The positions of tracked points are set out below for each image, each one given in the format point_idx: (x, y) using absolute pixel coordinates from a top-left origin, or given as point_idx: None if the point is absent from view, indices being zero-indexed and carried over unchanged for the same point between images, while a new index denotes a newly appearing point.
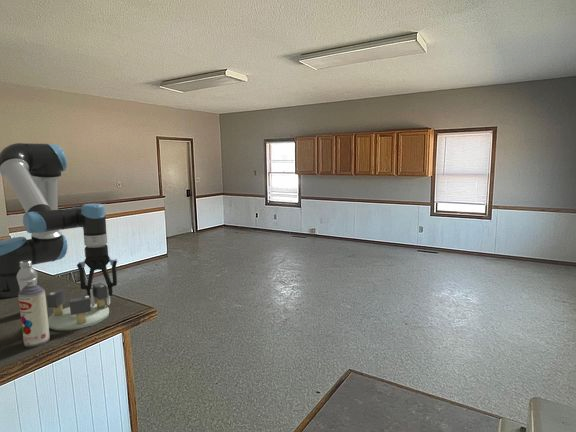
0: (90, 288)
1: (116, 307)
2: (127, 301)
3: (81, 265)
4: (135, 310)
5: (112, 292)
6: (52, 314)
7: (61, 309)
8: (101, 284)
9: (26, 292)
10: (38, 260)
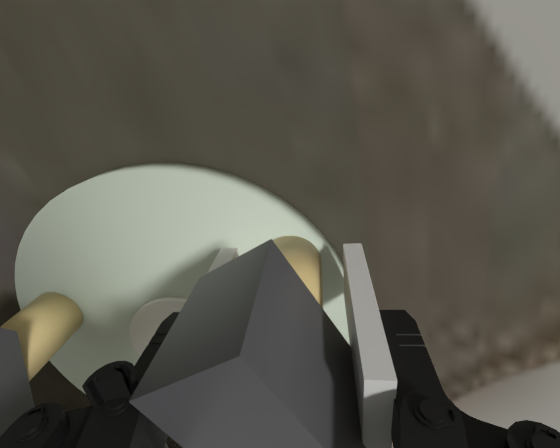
0: (163, 444)
1: (398, 218)
2: (502, 92)
3: None
4: (535, 308)
5: (417, 339)
6: (22, 300)
7: (57, 346)
8: (287, 438)
9: None
10: None
